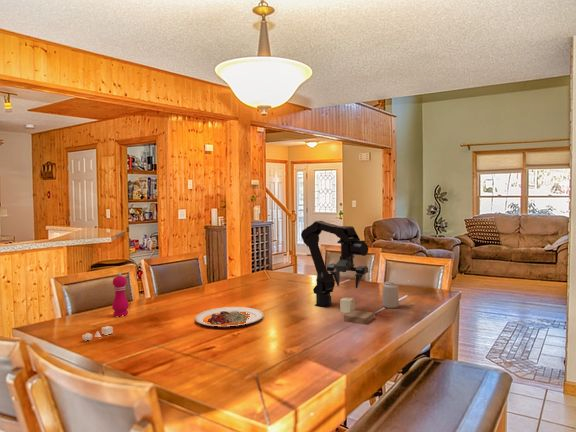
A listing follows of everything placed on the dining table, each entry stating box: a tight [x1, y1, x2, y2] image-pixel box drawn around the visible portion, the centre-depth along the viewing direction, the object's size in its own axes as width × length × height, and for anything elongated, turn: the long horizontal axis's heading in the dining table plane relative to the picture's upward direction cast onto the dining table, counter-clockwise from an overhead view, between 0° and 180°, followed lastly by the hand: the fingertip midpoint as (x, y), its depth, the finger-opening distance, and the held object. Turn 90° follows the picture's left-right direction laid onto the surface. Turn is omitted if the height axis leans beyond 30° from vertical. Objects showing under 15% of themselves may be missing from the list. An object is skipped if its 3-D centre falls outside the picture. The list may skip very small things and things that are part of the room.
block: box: [339, 296, 356, 314], centre depth 210 cm, size 5×5×6 cm
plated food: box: [194, 306, 264, 328], centre depth 201 cm, size 30×30×3 cm
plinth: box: [343, 309, 375, 325], centre depth 196 cm, size 10×10×3 cm
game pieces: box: [82, 325, 114, 342], centre depth 178 cm, size 12×3×3 cm, turn 148°
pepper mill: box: [111, 272, 130, 317], centre depth 209 cm, size 7×7×20 cm
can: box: [382, 280, 400, 309], centre depth 216 cm, size 8×8×12 cm
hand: (347, 287), depth 209 cm, fingers open, 9 cm apart
